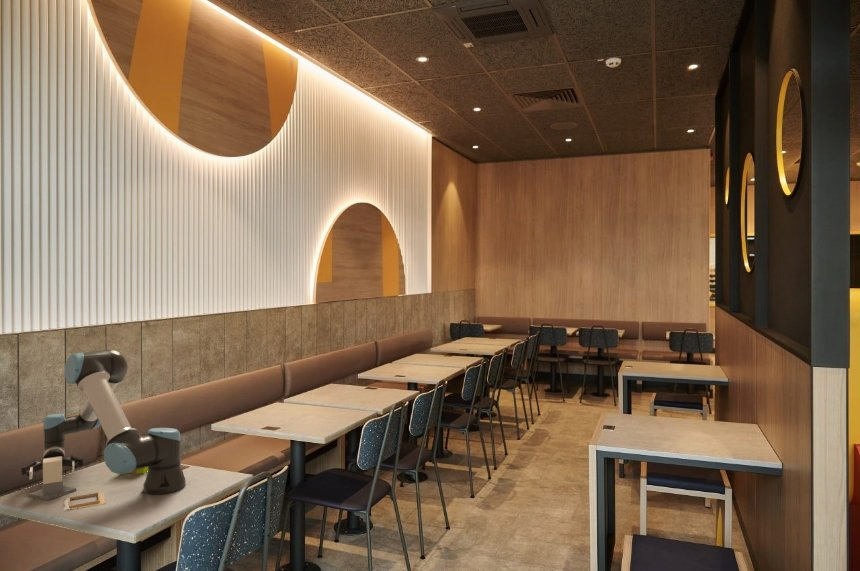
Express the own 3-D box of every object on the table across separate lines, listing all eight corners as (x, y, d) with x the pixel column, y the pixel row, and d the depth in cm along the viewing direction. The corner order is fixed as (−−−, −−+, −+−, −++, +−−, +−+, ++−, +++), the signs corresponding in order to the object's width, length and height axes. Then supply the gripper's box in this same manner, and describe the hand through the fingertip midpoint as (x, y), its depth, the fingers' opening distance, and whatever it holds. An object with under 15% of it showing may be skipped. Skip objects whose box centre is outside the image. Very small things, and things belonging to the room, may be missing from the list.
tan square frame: (103, 492, 224) (103, 490, 224) (104, 503, 213) (104, 500, 213) (64, 499, 218) (63, 496, 218) (63, 511, 207) (63, 508, 207)
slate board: (76, 490, 227) (76, 488, 227) (48, 500, 217) (48, 497, 217) (57, 486, 231) (57, 484, 231) (29, 496, 221) (28, 493, 221)
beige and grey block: (62, 486, 228) (61, 456, 228) (62, 491, 223) (61, 460, 223) (44, 489, 225) (43, 458, 225) (43, 494, 220) (42, 463, 220)
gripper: (89, 461, 246) (90, 476, 228) (16, 472, 233) (12, 488, 215) (89, 444, 246) (90, 457, 228) (16, 453, 233) (11, 468, 215)
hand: (52, 472), depth 221 cm, fingers open, 13 cm apart
